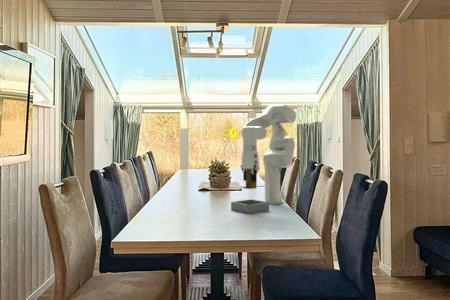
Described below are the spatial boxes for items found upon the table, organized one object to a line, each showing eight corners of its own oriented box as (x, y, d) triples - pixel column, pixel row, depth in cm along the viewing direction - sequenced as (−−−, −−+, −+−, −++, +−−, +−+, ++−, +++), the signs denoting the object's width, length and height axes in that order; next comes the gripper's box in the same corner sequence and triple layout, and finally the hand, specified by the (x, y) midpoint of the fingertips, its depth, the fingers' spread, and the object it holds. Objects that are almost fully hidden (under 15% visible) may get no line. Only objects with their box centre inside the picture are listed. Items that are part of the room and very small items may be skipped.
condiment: (259, 188, 225) (259, 166, 225) (247, 189, 220) (247, 167, 220) (251, 186, 231) (251, 165, 231) (239, 187, 227) (239, 166, 226)
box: (251, 206, 237) (251, 199, 236) (269, 210, 224) (269, 202, 224) (231, 209, 228) (231, 201, 228) (248, 213, 216) (247, 205, 215)
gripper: (265, 148, 220) (265, 181, 221) (245, 148, 234) (245, 179, 235) (254, 149, 216) (254, 182, 216) (235, 148, 230) (235, 180, 230)
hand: (249, 180), depth 225 cm, fingers closed on condiment, 6 cm apart
